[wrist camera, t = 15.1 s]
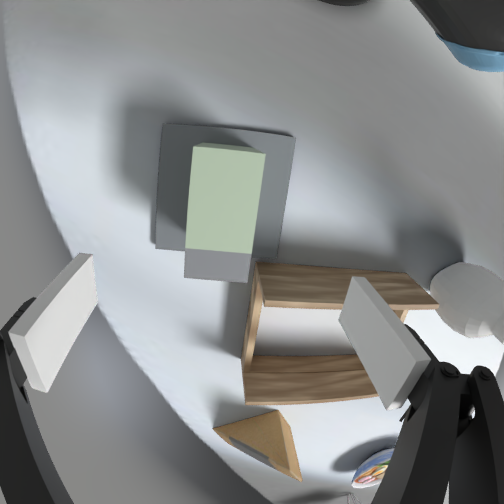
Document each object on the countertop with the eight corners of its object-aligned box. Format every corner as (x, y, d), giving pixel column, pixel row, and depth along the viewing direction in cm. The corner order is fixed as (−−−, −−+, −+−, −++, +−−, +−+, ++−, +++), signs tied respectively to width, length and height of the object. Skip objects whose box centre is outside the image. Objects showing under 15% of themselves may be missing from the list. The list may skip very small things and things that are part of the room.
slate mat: (164, 123, 33) (162, 123, 32) (294, 137, 35) (296, 137, 34) (157, 245, 39) (155, 248, 38) (274, 256, 41) (276, 259, 40)
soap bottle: (473, 241, 43) (574, 312, 20) (471, 281, 47) (555, 357, 23) (417, 267, 44) (521, 365, 20) (417, 308, 47) (500, 408, 24)
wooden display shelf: (255, 261, 41) (265, 300, 32) (406, 273, 44) (439, 304, 35) (240, 359, 47) (245, 404, 38) (372, 357, 51) (393, 393, 42)
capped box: (202, 142, 33) (193, 146, 23) (253, 147, 34) (265, 154, 24) (194, 237, 38) (184, 277, 28) (240, 241, 38) (247, 282, 28)
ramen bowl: (328, 472, 72) (334, 492, 64) (378, 434, 65) (388, 456, 57) (378, 470, 78) (384, 487, 71) (423, 435, 71) (433, 452, 64)
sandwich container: (210, 427, 55) (211, 486, 42) (277, 408, 54) (290, 469, 40) (228, 444, 59) (231, 497, 45) (290, 426, 58) (303, 482, 44)
